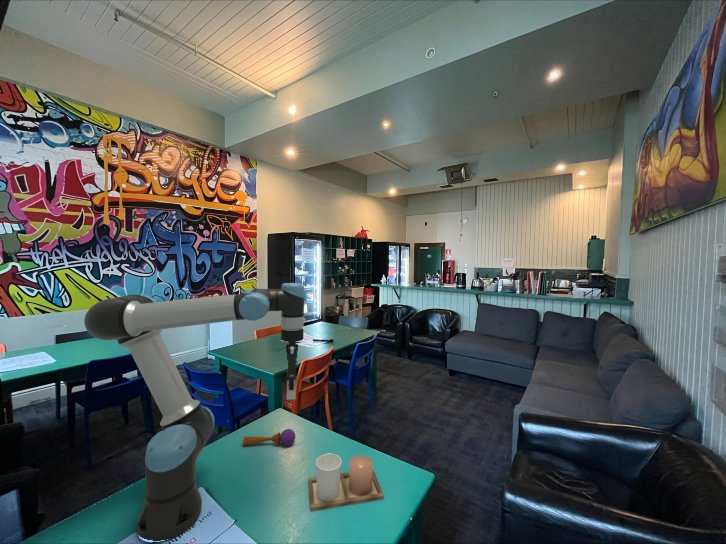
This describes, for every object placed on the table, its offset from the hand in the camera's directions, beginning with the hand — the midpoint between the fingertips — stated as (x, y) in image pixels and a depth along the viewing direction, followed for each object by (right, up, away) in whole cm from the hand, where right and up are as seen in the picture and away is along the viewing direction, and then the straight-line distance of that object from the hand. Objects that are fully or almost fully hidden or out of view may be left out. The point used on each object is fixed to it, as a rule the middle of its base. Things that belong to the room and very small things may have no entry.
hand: (291, 390), depth 100 cm
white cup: (+14, -28, -10) cm, 33 cm away
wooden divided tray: (+19, -29, -8) cm, 36 cm away
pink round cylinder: (+24, -28, -7) cm, 38 cm away
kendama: (-13, -29, +16) cm, 35 cm away
